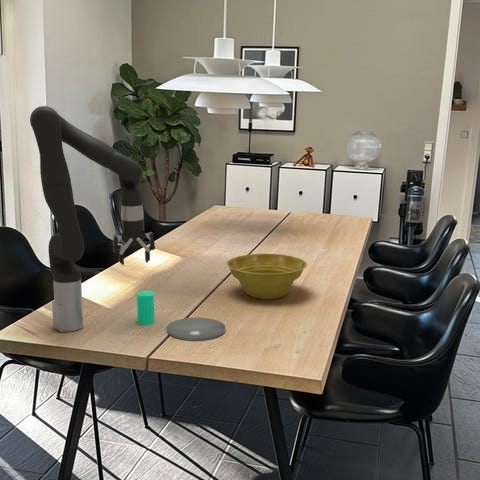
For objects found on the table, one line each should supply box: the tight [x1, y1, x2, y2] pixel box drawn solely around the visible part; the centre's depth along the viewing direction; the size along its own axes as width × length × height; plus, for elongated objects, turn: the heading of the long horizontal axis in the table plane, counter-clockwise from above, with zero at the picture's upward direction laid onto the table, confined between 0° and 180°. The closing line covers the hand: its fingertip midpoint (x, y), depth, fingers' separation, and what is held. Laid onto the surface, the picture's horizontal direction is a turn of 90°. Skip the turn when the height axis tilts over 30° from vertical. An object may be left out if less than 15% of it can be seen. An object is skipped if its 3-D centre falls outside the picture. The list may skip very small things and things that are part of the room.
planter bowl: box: [226, 253, 308, 300], centre depth 271 cm, size 32×32×13 cm
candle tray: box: [166, 317, 226, 342], centre depth 230 cm, size 20×20×1 cm
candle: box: [136, 289, 155, 326], centre depth 237 cm, size 6×6×12 cm
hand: (134, 263), depth 234 cm, fingers open, 8 cm apart
